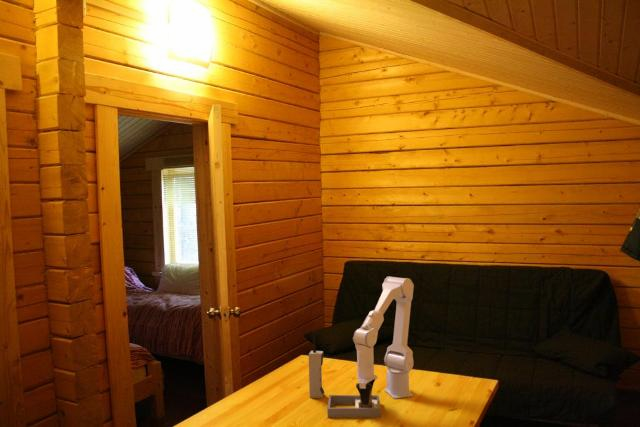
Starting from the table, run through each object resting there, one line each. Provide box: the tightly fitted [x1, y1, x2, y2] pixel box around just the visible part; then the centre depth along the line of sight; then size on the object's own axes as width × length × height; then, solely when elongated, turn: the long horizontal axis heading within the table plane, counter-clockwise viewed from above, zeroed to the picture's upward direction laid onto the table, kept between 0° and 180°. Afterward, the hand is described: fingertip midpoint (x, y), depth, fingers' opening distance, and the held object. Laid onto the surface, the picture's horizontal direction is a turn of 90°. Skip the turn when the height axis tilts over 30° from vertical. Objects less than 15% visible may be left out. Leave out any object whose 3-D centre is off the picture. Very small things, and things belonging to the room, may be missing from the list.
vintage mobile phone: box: [308, 330, 325, 399], centre depth 195 cm, size 4×5×25 cm
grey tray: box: [326, 394, 382, 419], centre depth 182 cm, size 18×12×3 cm, turn 86°
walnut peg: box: [360, 383, 373, 408], centre depth 181 cm, size 4×4×8 cm
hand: (366, 401), depth 181 cm, fingers closed on walnut peg, 4 cm apart
